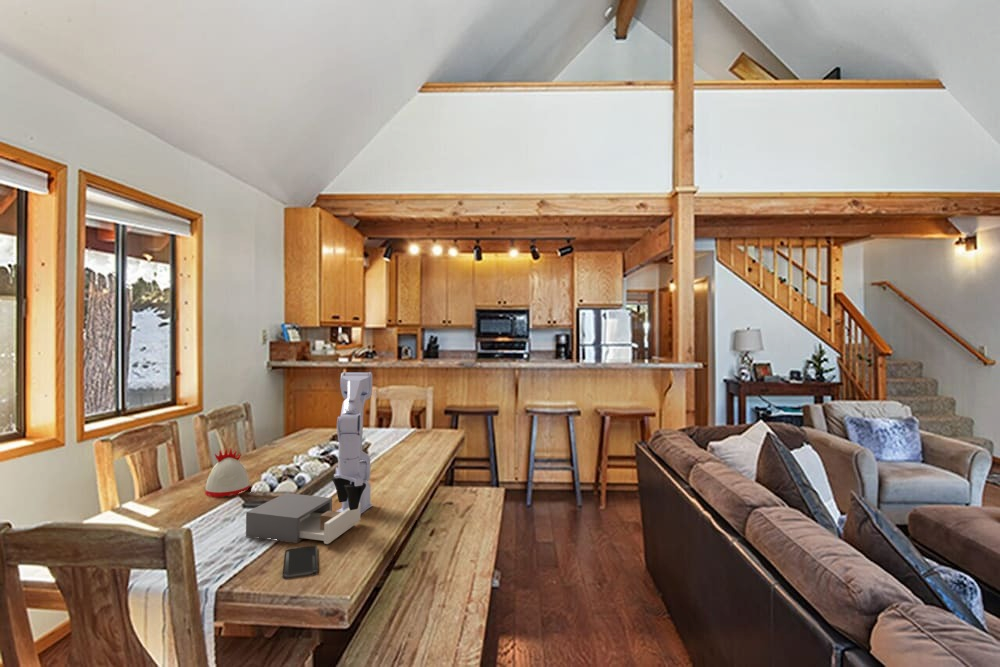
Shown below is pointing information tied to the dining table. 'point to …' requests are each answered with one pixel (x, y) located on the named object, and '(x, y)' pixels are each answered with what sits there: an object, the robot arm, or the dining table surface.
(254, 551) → the dining table surface
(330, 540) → the tray
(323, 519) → the walnut block
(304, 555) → the phone
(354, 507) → the robot arm
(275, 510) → the box housing
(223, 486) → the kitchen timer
